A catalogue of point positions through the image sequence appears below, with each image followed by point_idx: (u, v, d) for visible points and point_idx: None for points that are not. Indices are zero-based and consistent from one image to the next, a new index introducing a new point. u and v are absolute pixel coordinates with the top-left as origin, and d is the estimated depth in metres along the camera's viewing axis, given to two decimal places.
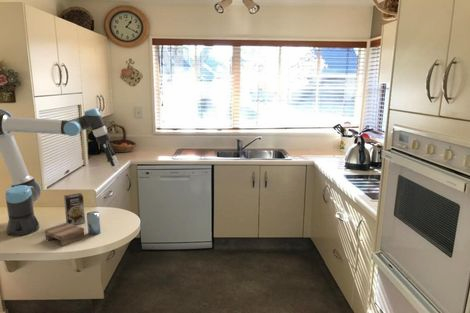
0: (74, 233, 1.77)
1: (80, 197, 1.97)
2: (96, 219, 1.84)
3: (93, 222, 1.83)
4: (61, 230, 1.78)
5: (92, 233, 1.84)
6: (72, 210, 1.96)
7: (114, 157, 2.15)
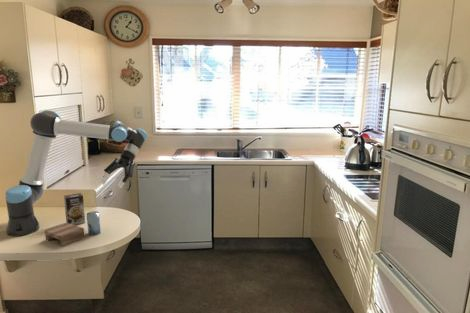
0: (74, 233, 1.77)
1: (80, 197, 1.97)
2: (96, 219, 1.84)
3: (93, 222, 1.83)
4: (61, 230, 1.78)
5: (92, 233, 1.84)
6: (72, 210, 1.96)
7: (108, 176, 1.99)
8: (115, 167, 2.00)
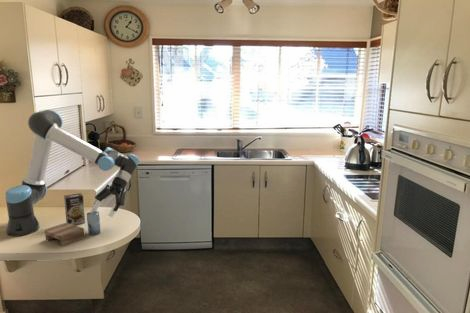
0: (74, 233, 1.77)
1: (80, 197, 1.97)
2: (96, 219, 1.84)
3: (94, 222, 1.83)
4: (61, 230, 1.78)
5: (92, 233, 1.84)
6: (72, 210, 1.96)
7: (99, 203, 1.94)
8: (106, 194, 1.95)
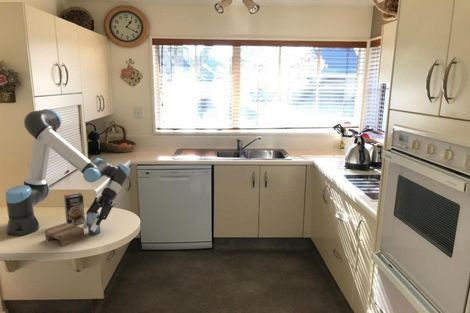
0: (74, 233, 1.77)
1: (80, 197, 1.97)
2: None
3: (93, 222, 1.83)
4: (61, 230, 1.78)
5: (92, 233, 1.84)
6: (72, 210, 1.96)
7: None
8: (97, 207, 1.90)
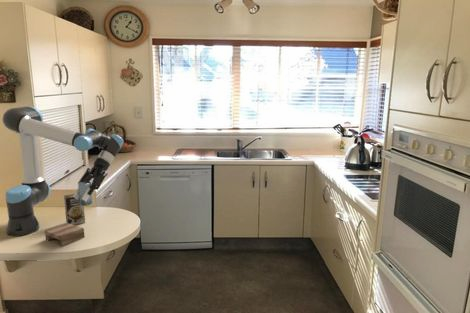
0: (74, 233, 1.77)
1: None
2: None
3: (85, 192, 1.78)
4: (61, 230, 1.78)
5: (84, 203, 1.79)
6: (72, 210, 1.96)
7: None
8: (89, 177, 1.85)
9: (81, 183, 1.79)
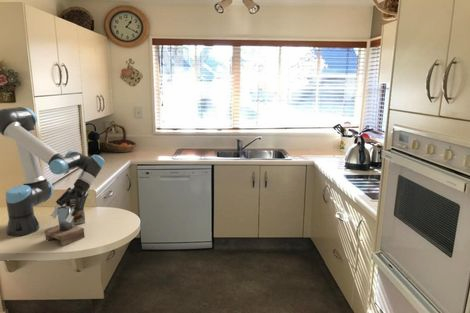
0: (74, 233, 1.77)
1: None
2: (68, 214, 1.77)
3: (64, 217, 1.76)
4: None
5: (63, 228, 1.77)
6: None
7: None
8: (68, 198, 1.83)
9: (60, 208, 1.77)
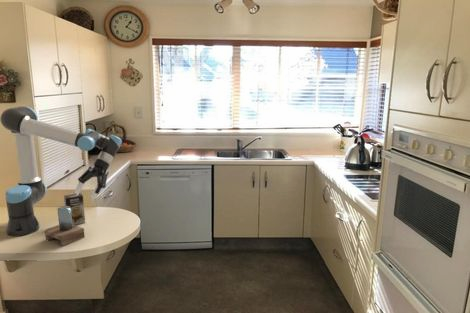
0: (74, 233, 1.77)
1: (80, 197, 1.97)
2: (68, 214, 1.77)
3: (64, 217, 1.76)
4: None
5: (63, 228, 1.77)
6: (72, 210, 1.96)
7: (82, 185, 1.94)
8: (89, 176, 1.94)
9: (60, 208, 1.77)
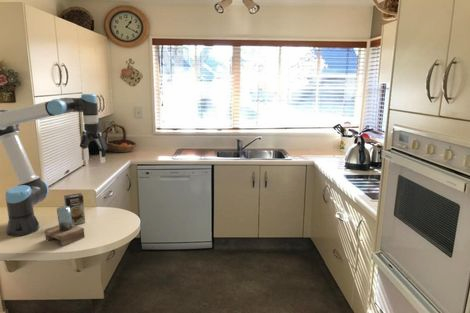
0: (74, 233, 1.77)
1: (80, 197, 1.97)
2: (67, 214, 1.77)
3: (64, 217, 1.76)
4: None
5: (63, 228, 1.77)
6: (72, 210, 1.96)
7: (87, 150, 1.99)
8: (87, 141, 1.96)
9: (60, 208, 1.77)
